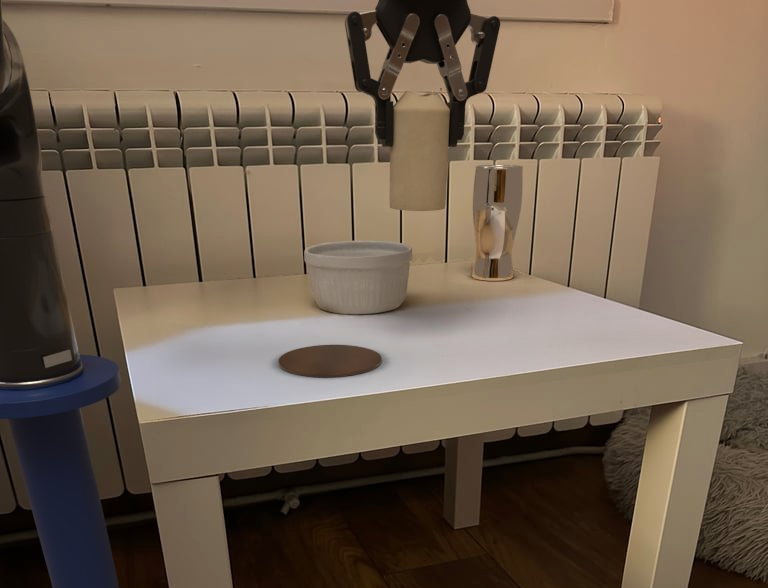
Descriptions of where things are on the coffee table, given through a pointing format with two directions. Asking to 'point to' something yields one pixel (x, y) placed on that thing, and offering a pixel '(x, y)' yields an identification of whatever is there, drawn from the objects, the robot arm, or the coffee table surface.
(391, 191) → the candle
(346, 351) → the coaster
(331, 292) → the ramekin
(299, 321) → the coffee table surface
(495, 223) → the beer glass
